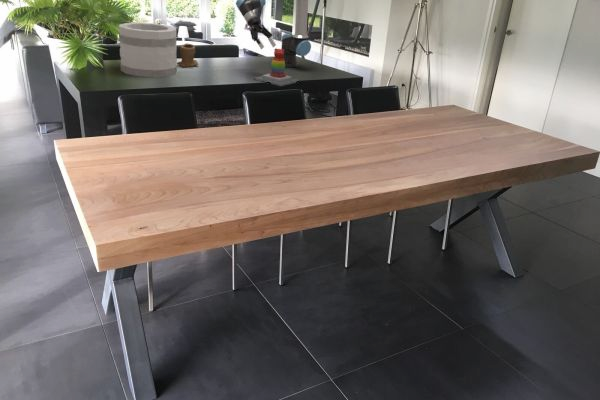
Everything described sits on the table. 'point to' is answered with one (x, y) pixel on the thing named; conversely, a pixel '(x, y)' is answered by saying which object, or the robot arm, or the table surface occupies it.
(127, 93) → the table surface
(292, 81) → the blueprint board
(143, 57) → the storage basket
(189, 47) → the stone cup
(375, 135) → the table surface
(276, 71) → the stacking bear
